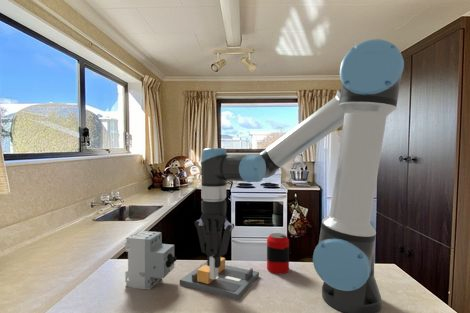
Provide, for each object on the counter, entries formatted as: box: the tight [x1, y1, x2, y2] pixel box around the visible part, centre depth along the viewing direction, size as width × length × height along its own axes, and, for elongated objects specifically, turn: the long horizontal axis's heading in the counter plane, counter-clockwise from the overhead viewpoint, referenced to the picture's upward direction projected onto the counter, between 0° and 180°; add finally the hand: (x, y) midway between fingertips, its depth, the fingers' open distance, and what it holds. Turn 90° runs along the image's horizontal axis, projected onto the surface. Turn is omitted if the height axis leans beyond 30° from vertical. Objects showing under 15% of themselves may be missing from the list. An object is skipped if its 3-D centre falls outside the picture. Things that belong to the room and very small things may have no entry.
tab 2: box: [218, 256, 226, 273], centre depth 91 cm, size 4×4×4 cm
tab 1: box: [197, 265, 213, 284], centre depth 84 cm, size 4×4×4 cm
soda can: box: [266, 232, 290, 275], centre depth 95 cm, size 8×8×12 cm
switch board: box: [179, 261, 260, 301], centre depth 87 cm, size 20×16×4 cm
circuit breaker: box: [124, 230, 177, 290], centre depth 85 cm, size 8×14×15 cm, turn 78°
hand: (213, 277), depth 82 cm, fingers closed
